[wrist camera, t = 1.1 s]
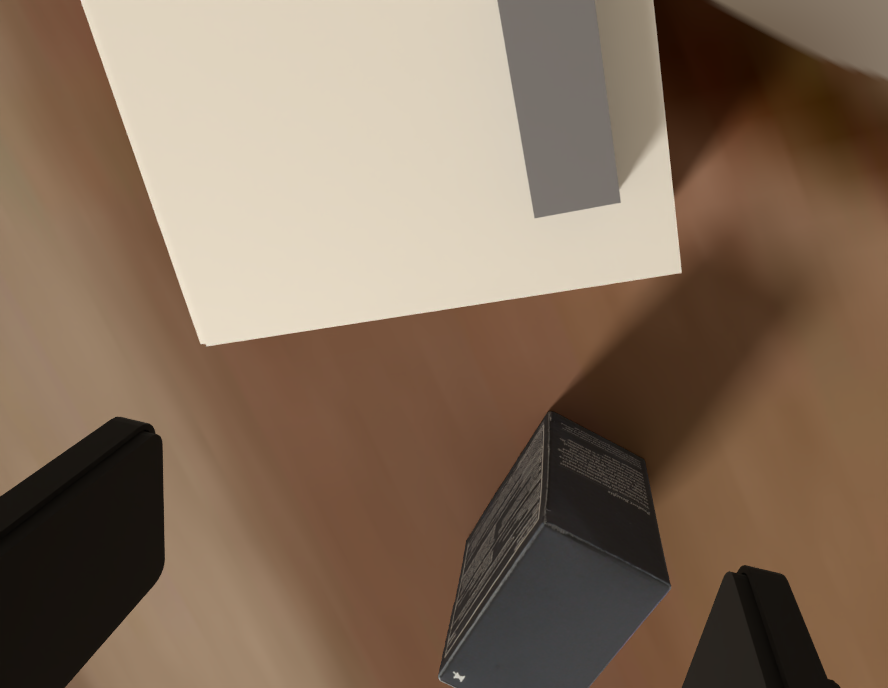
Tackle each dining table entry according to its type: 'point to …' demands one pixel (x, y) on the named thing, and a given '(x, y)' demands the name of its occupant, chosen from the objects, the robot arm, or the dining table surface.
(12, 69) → the dining table surface
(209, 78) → the lid
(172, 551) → the dining table surface
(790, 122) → the dining table surface
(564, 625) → the small box
